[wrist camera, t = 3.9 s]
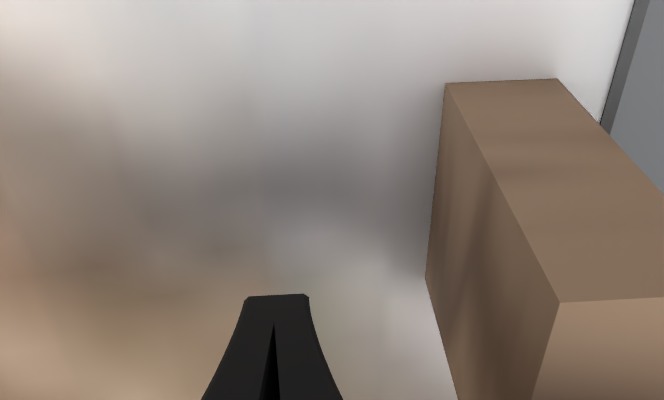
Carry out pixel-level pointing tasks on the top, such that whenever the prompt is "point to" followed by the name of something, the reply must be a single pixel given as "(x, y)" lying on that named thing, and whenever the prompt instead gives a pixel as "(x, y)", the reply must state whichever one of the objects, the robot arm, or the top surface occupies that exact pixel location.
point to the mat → (640, 92)
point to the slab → (543, 250)
